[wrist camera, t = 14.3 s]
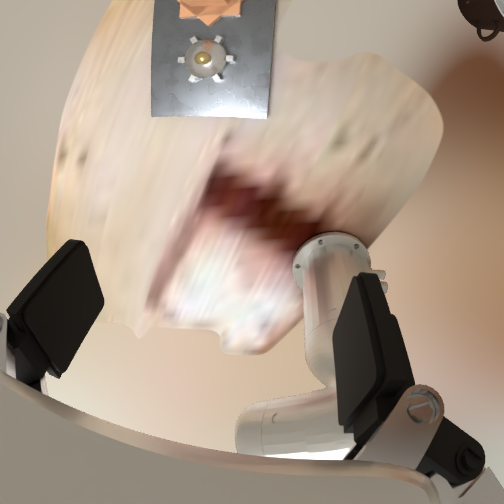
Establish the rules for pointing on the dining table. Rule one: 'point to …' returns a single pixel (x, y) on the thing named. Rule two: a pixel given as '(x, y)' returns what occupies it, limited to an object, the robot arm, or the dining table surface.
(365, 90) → the dining table surface
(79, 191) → the dining table surface
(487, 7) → the coffee mug
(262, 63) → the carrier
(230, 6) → the hollow square star tube
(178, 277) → the dining table surface
